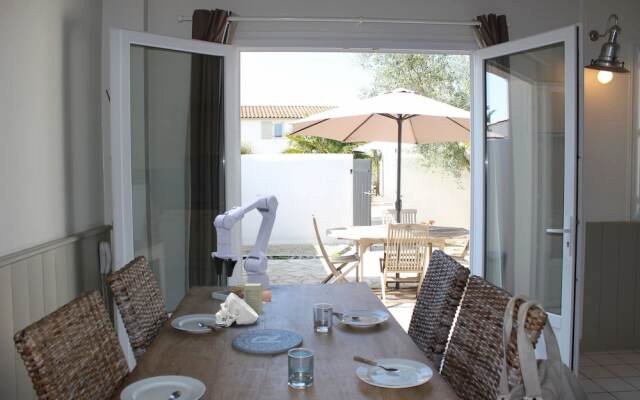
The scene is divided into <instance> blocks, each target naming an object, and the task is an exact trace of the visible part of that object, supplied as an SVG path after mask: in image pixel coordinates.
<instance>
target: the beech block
mask: <svg viewBox="0 0 640 400" xmlns="http://www.w3.org/2000/svg"><path fill="white" fill-rule="evenodd" d="M244 285H245V284H237V285H234V289H235V288H236V289H241V290H242V293H244Z"/></svg>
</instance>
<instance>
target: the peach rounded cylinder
mask: <svg viewBox="0 0 640 400" xmlns="http://www.w3.org/2000/svg"><path fill="white" fill-rule="evenodd" d="M271 299H272V290H270V289H269V290H264V291H262V301H263V302H269V303H272V302H271Z"/></svg>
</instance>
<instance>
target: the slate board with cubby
mask: <svg viewBox="0 0 640 400" xmlns="http://www.w3.org/2000/svg"><path fill="white" fill-rule="evenodd" d="M228 290H229V289H225V290H219V291H214V292H212V293H211V297H212V298H213V299H217V300H221V301H224V302H225V301H226V299H227V297H228ZM242 300H243V301H244V293H242ZM277 301H278V299H273V298H271V302H263V301H262V302H263V305H264V304H269V303H272V302H277Z"/></svg>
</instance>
